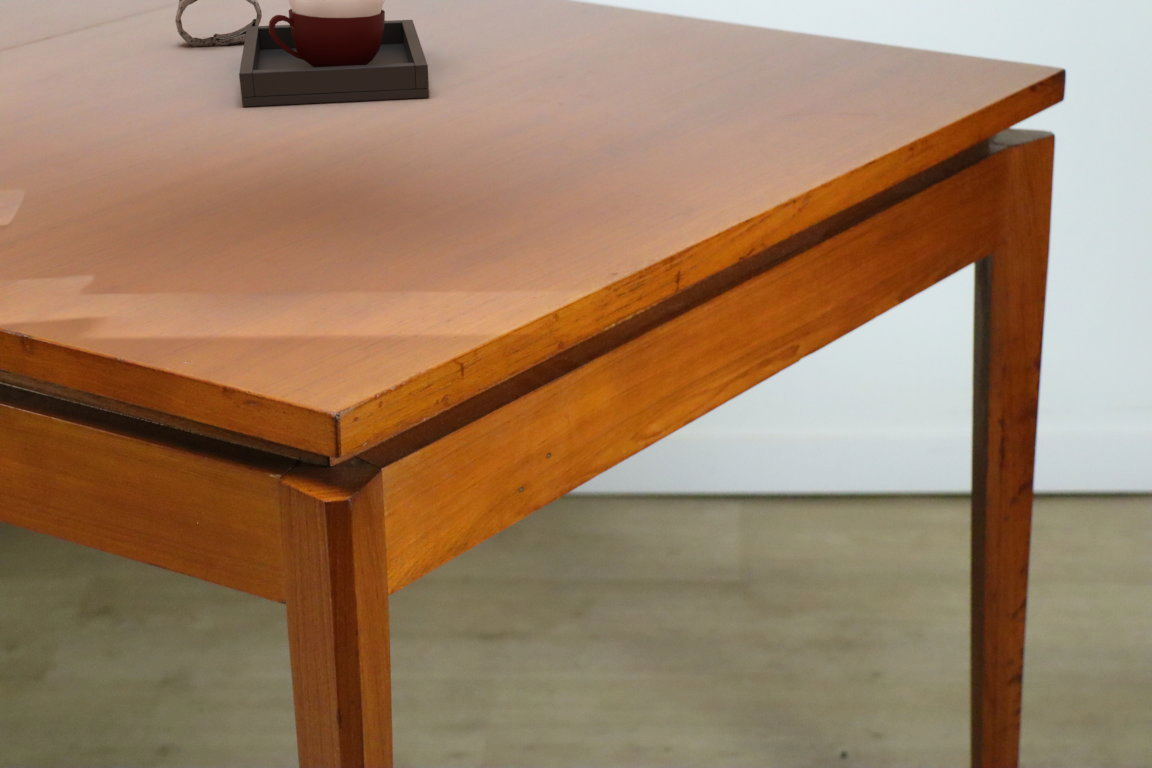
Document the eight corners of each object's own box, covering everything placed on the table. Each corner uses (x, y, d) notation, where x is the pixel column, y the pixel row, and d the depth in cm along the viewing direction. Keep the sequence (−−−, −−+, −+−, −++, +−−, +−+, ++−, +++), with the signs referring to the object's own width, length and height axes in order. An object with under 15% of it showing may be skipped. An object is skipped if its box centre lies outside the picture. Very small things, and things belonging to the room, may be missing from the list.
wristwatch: (179, 40, 112) (171, -29, 110) (264, 36, 113) (258, -32, 111) (176, 50, 109) (167, -20, 107) (263, 46, 110) (257, -24, 108)
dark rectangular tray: (242, 107, 94) (238, 73, 93) (250, 56, 107) (247, 26, 106) (429, 97, 96) (427, 64, 95) (414, 48, 109) (412, 19, 108)
